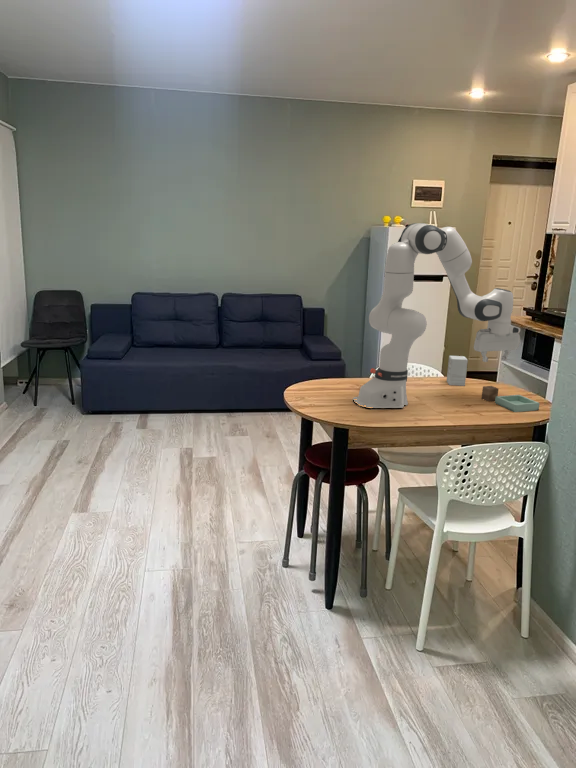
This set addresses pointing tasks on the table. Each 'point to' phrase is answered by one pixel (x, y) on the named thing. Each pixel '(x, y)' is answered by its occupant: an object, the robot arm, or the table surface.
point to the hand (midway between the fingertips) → (494, 361)
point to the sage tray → (517, 403)
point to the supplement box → (457, 370)
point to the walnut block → (489, 393)
